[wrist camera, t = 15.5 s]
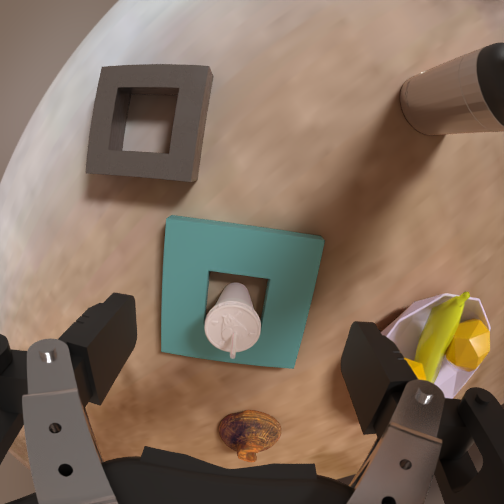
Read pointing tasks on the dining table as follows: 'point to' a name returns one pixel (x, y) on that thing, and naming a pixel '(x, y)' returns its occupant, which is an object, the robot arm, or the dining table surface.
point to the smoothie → (233, 321)
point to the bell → (249, 433)
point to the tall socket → (115, 114)
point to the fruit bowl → (443, 339)
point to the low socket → (241, 263)
